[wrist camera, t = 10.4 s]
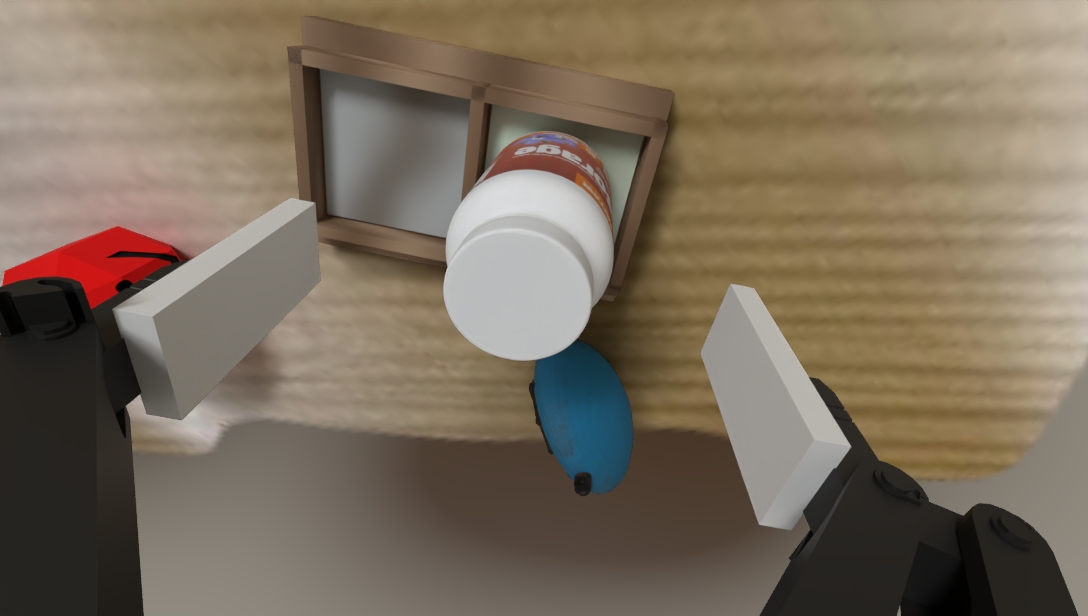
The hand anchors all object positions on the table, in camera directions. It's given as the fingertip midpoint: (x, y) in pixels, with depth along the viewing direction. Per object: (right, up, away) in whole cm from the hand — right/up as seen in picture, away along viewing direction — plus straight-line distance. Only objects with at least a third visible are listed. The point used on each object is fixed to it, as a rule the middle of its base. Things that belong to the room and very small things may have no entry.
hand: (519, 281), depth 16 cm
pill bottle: (+1, +5, +9) cm, 10 cm away
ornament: (+3, -4, +16) cm, 17 cm away
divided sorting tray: (-3, +6, +10) cm, 12 cm away
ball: (-23, +1, +16) cm, 28 cm away
